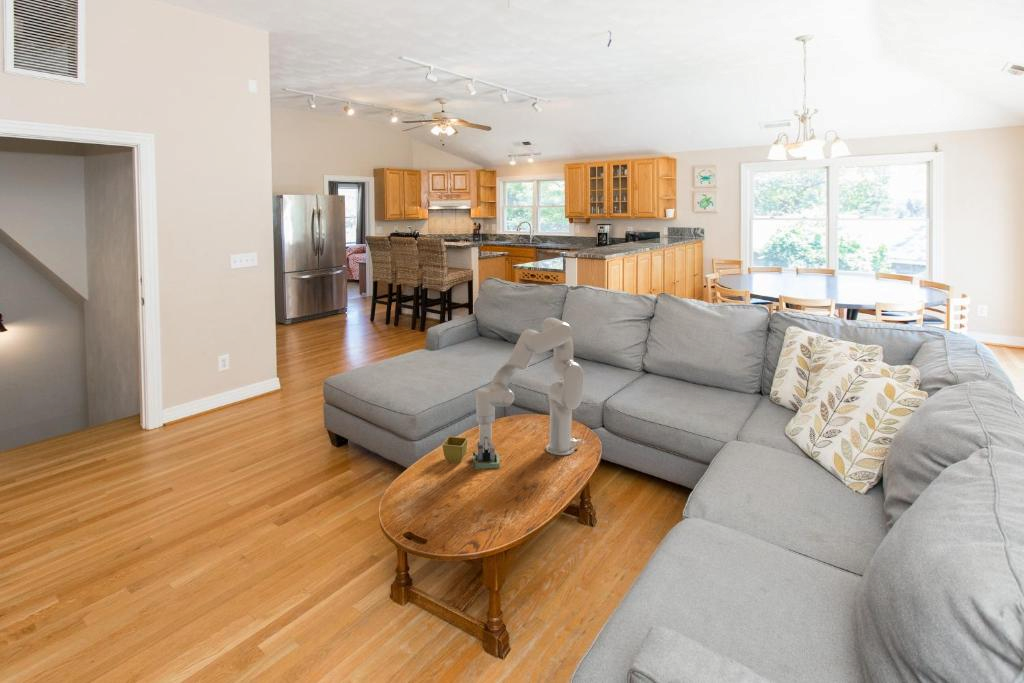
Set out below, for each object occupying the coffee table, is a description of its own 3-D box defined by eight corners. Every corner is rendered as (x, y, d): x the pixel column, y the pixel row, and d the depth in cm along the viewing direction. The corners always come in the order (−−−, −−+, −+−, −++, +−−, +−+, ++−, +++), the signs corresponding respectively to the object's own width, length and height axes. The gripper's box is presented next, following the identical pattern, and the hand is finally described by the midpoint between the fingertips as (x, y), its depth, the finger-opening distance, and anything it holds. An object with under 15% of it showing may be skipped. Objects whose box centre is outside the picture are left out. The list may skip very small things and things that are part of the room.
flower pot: (462, 466, 238) (462, 446, 236) (442, 464, 240) (441, 444, 238) (468, 457, 247) (467, 437, 244) (448, 455, 248) (448, 436, 246)
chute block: (494, 456, 243) (494, 441, 242) (494, 461, 238) (494, 446, 237) (477, 457, 243) (477, 442, 241) (477, 462, 238) (477, 447, 236)
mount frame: (498, 457, 246) (498, 450, 245) (499, 467, 236) (499, 460, 236) (473, 458, 246) (472, 451, 245) (473, 468, 236) (472, 461, 235)
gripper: (476, 410, 244) (477, 450, 249) (476, 425, 228) (477, 467, 232) (493, 410, 245) (494, 449, 249) (495, 425, 228) (495, 466, 233)
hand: (486, 457), depth 241 cm, fingers closed on chute block, 4 cm apart
